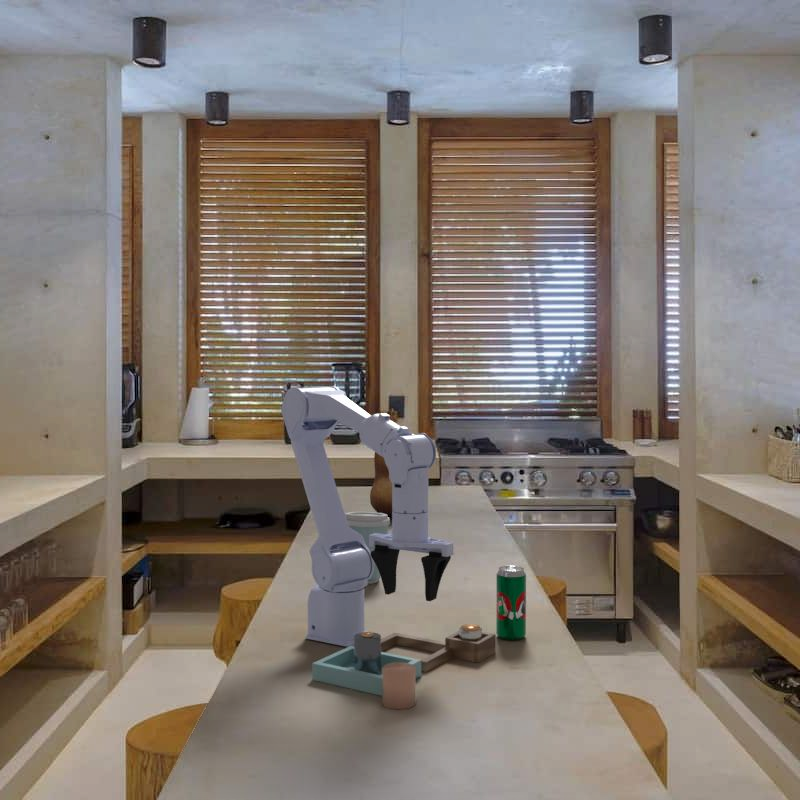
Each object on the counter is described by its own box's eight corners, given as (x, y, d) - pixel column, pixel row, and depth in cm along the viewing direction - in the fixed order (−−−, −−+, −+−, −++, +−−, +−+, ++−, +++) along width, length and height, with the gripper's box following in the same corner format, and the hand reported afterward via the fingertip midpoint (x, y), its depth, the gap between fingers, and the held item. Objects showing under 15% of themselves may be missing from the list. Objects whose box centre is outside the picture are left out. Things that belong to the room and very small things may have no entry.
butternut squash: (398, 522, 271) (398, 437, 270) (361, 517, 278) (361, 435, 277) (423, 515, 283) (423, 433, 282) (387, 511, 290) (387, 432, 289)
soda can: (523, 632, 162) (523, 564, 161) (528, 641, 157) (528, 571, 156) (494, 632, 162) (494, 564, 161) (498, 641, 157) (498, 571, 156)
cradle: (359, 658, 148) (359, 648, 148) (394, 641, 157) (394, 632, 157) (426, 671, 142) (426, 662, 142) (458, 653, 150) (458, 644, 150)
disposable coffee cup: (348, 574, 206) (348, 507, 205) (395, 576, 204) (395, 508, 203) (335, 585, 196) (335, 515, 195) (385, 588, 194) (384, 516, 193)
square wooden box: (445, 656, 149) (445, 637, 149) (463, 646, 154) (463, 628, 154) (478, 662, 146) (478, 644, 146) (495, 652, 151) (495, 634, 151)
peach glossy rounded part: (376, 704, 128) (375, 669, 128) (394, 694, 132) (393, 660, 132) (404, 711, 126) (404, 675, 126) (421, 700, 130) (421, 665, 130)
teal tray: (312, 679, 138) (312, 663, 138) (351, 661, 147) (351, 645, 147) (384, 696, 132) (384, 679, 131) (421, 676, 140) (421, 659, 140)
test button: (455, 644, 149) (455, 627, 149) (466, 639, 153) (466, 622, 152) (475, 648, 148) (475, 631, 147) (485, 642, 151) (485, 625, 150)
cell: (349, 676, 139) (348, 634, 138) (364, 669, 142) (364, 628, 142) (370, 682, 137) (370, 639, 136) (386, 673, 140) (385, 632, 140)
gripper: (357, 510, 146) (358, 595, 147) (437, 518, 138) (437, 608, 139) (382, 504, 152) (382, 586, 153) (460, 512, 144) (460, 598, 145)
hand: (410, 596), depth 146 cm, fingers open, 7 cm apart
